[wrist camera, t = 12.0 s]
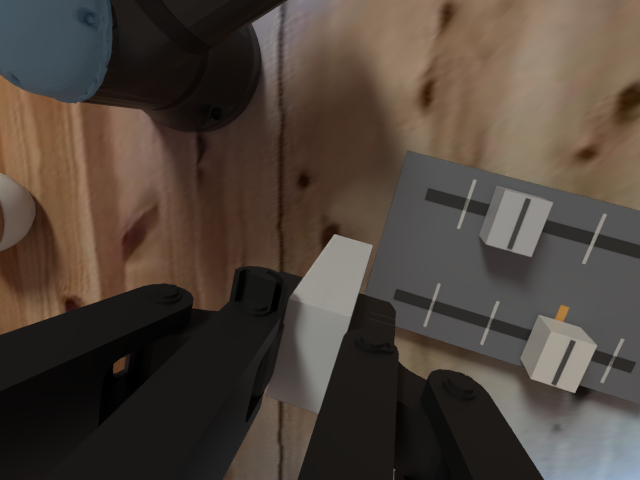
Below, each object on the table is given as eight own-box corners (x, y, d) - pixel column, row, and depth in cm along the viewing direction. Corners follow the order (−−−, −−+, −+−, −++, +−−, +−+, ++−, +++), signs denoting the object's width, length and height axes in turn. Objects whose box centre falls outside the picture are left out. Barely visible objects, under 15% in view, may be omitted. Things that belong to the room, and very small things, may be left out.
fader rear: (520, 358, 44) (530, 379, 40) (538, 314, 42) (551, 332, 39) (560, 371, 43) (575, 393, 39) (580, 327, 42) (597, 346, 38)
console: (360, 308, 50) (357, 318, 47) (407, 150, 45) (407, 151, 42) (632, 395, 46) (648, 412, 43) (716, 230, 41) (740, 237, 38)
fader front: (479, 235, 42) (485, 244, 38) (496, 185, 41) (505, 190, 37) (520, 246, 42) (531, 257, 38) (539, 196, 40) (553, 202, 36)
